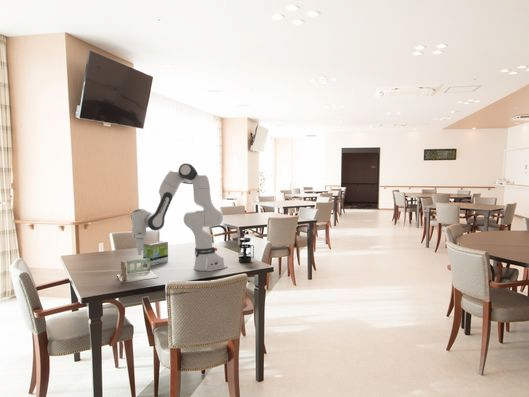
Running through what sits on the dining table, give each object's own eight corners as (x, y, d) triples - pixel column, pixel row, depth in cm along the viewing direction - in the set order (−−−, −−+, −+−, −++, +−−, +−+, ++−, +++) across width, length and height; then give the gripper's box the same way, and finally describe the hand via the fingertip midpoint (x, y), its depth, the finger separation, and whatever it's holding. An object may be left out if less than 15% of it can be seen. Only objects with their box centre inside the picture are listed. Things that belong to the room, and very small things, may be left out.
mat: (150, 270, 243) (150, 270, 243) (157, 277, 226) (157, 277, 226) (116, 275, 232) (116, 274, 232) (121, 283, 216) (121, 282, 216)
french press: (237, 263, 260) (237, 231, 259) (237, 260, 269) (236, 229, 268) (254, 263, 262) (254, 230, 260) (253, 260, 271) (252, 228, 269)
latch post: (127, 280, 221) (126, 265, 220) (128, 282, 217) (128, 267, 217) (120, 281, 219) (119, 266, 218) (121, 283, 215) (120, 268, 215)
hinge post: (126, 274, 234) (125, 260, 234) (127, 275, 231) (126, 261, 230) (119, 275, 233) (118, 261, 232) (120, 276, 229) (119, 262, 228)
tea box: (153, 266, 256) (152, 244, 256) (142, 264, 261) (142, 243, 260) (168, 261, 270) (168, 241, 269) (158, 260, 274) (158, 240, 274)
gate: (127, 274, 232) (127, 261, 232) (127, 273, 234) (126, 260, 233) (150, 271, 239) (150, 258, 239) (150, 270, 241) (149, 258, 240)
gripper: (133, 231, 251) (134, 252, 251) (134, 236, 232) (135, 258, 232) (143, 231, 253) (143, 251, 254) (145, 235, 234) (145, 257, 235)
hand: (139, 254), depth 243 cm, fingers closed
